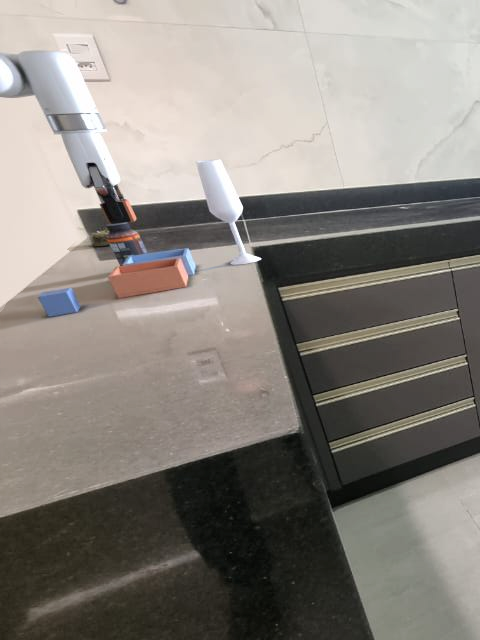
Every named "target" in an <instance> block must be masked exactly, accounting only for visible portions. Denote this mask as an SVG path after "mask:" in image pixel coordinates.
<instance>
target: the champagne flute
mask: <svg viewBox="0 0 480 640" xmlns="http://www.w3.org/2000/svg"><path fill="white" fill-rule="evenodd" d="M195 164H196V168H197V171H198V175H199V179H200V182H201V186H202V190H203V193H204V196H205V200H206V204H207V208H208V211H209V212H210V214H211V215H213V216H214V217H215V218H217V219H219V220H221V221H222V222H224V223H228V224H229V228H230V230H231V233H232V236H233V238H234V240H235V244H236V246H237V250H238V252H239V255H237V256H236V257H235V258H234V259H233V260H232V261H231V262H230V265H233V266H234V265H235V266H237V265H238V266H239V265H247V264H251V263H256V262H258V261H261V260H262V258H261V257H259V256H256V255H253V254H250V253H246V249H245V247H244V244H243V241H242V239H241V237H240V233H239V231H238V228H237V226H236V223H235V222H236V221H238V219H239V218H240V217H241V215H242V213H243V210H244V206H243V204H242V201H241V200H240V198H239V196H238V194H237V192H236V189H235V187H234V185H233V183H232V180H231V179H230V177H229V175H228V172H227V170H226V169H225V166H224V164H223V162H222V160H221V159H208V160H207V159H206V160H198V161H195Z"/></svg>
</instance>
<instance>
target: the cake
mask: <svg viewBox="0 0 480 640" xmlns="http://www.w3.org/2000/svg"><path fill="white" fill-rule="evenodd" d="M108 233H109V230H108V229H107V227H106V226H105V229H104V230H101V231H98V232H95V233H93V234H91V238H92V241H93V247H104V246H110V244H109V242H108V240H107V238H106V236H107V235H108Z"/></svg>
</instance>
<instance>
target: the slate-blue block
mask: <svg viewBox="0 0 480 640" xmlns="http://www.w3.org/2000/svg"><path fill="white" fill-rule="evenodd" d="M37 299H38V301H39V302H40V304H41V307H42V308H43V310H44V312H45V313H46V315H47V316H48V317H49V318H51V317H57V316H63V315H68V314H74V313H78V312H79V310H80V309H81V308H82V305H81V304H80V302H79V300H78V298H77V295H76V294H75V293H74V290H73V288H72V287H67V288H66V287H65V288H59V289H54V290H53V289H52V290H47V291H42V293H40V294H39V295H38V296H37Z"/></svg>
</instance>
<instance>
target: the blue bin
mask: <svg viewBox="0 0 480 640" xmlns="http://www.w3.org/2000/svg"><path fill="white" fill-rule="evenodd" d="M173 258H181V261H182V263H183V265H184V268H185V270H186V272H187V275H188V277H189V276H194V275H195V272H196V263H195V261H194V259H193V257H192V254H191V252H190V249H189V247H185V248H178V249H171V250H170V249H169V250H164V251H156V252H148V254H142V255H134V256H128V258H127V259H126V261H125V262H124V263H123V266H125V265H132V264H139V263H146V262H152V261H159V260H166V259H173Z"/></svg>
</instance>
